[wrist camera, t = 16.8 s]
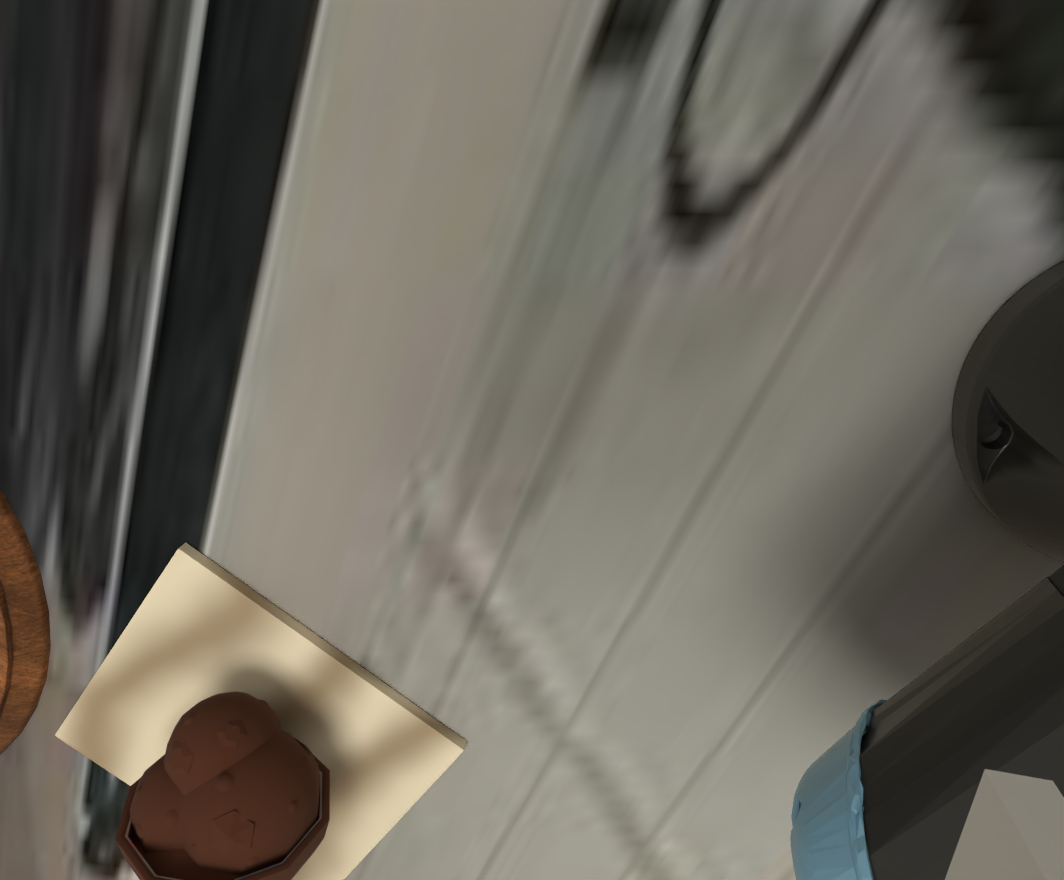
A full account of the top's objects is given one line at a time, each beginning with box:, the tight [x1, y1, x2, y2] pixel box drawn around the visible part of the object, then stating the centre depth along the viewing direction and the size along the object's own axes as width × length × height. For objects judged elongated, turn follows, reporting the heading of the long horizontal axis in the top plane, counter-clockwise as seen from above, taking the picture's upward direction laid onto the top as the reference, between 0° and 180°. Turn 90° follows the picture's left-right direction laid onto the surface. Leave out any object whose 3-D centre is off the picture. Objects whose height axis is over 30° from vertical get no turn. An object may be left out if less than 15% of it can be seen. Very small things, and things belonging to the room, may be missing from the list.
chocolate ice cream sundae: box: [115, 691, 330, 880], centre depth 46 cm, size 11×11×15 cm
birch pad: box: [55, 542, 467, 880], centre depth 51 cm, size 20×17×1 cm
